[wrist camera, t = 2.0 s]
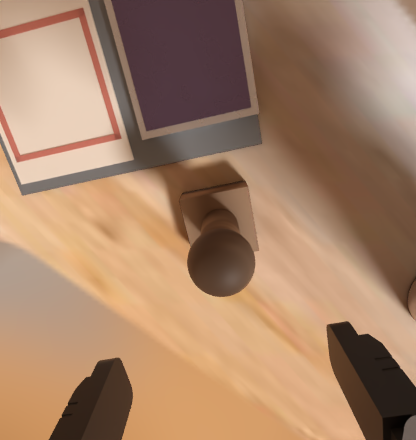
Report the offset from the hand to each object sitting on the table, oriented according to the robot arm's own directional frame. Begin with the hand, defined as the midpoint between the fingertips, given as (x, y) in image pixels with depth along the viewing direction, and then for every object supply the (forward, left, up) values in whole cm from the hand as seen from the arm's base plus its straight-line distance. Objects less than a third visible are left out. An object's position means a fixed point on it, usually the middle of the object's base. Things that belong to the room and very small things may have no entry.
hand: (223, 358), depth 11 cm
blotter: (+6, -14, -18) cm, 24 cm away
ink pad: (0, -14, -18) cm, 23 cm away
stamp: (0, 0, -18) cm, 18 cm away
